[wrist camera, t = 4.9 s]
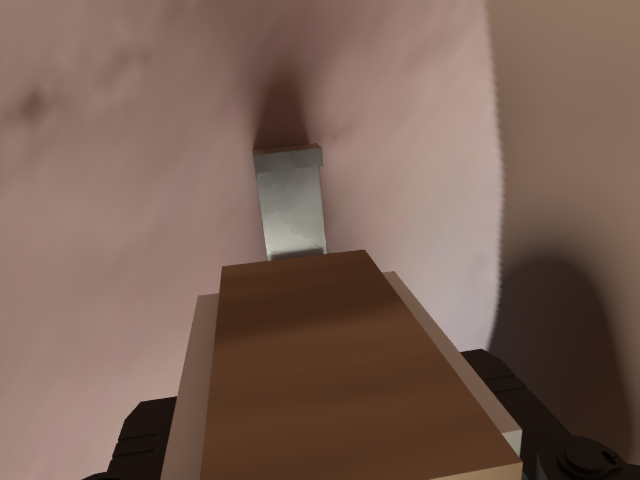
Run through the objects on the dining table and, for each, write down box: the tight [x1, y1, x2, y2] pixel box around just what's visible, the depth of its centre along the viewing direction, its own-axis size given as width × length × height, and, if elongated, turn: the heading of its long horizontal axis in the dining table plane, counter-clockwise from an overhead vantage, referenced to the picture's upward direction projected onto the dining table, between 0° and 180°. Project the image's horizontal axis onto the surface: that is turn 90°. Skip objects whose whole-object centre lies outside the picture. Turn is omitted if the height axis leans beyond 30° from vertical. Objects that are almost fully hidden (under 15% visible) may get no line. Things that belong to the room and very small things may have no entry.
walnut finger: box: [200, 250, 523, 480], centre depth 10 cm, size 6×4×8 cm, turn 4°
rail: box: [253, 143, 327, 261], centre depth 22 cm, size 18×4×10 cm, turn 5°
